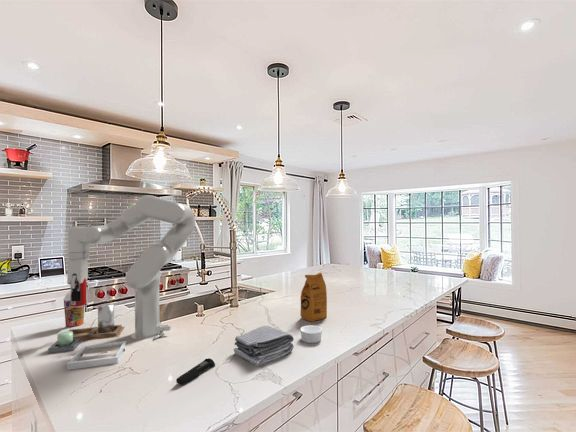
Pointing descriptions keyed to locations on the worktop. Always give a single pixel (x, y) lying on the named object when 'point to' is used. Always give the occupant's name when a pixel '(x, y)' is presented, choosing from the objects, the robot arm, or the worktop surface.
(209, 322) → the worktop surface
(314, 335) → the ramekin
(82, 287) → the soda can
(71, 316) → the smoothie
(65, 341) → the button
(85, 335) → the wooden compartment tray
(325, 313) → the coffee package
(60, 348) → the button box
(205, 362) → the electric trimmer
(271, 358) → the towel
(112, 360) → the white square frame
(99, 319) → the steel billet
